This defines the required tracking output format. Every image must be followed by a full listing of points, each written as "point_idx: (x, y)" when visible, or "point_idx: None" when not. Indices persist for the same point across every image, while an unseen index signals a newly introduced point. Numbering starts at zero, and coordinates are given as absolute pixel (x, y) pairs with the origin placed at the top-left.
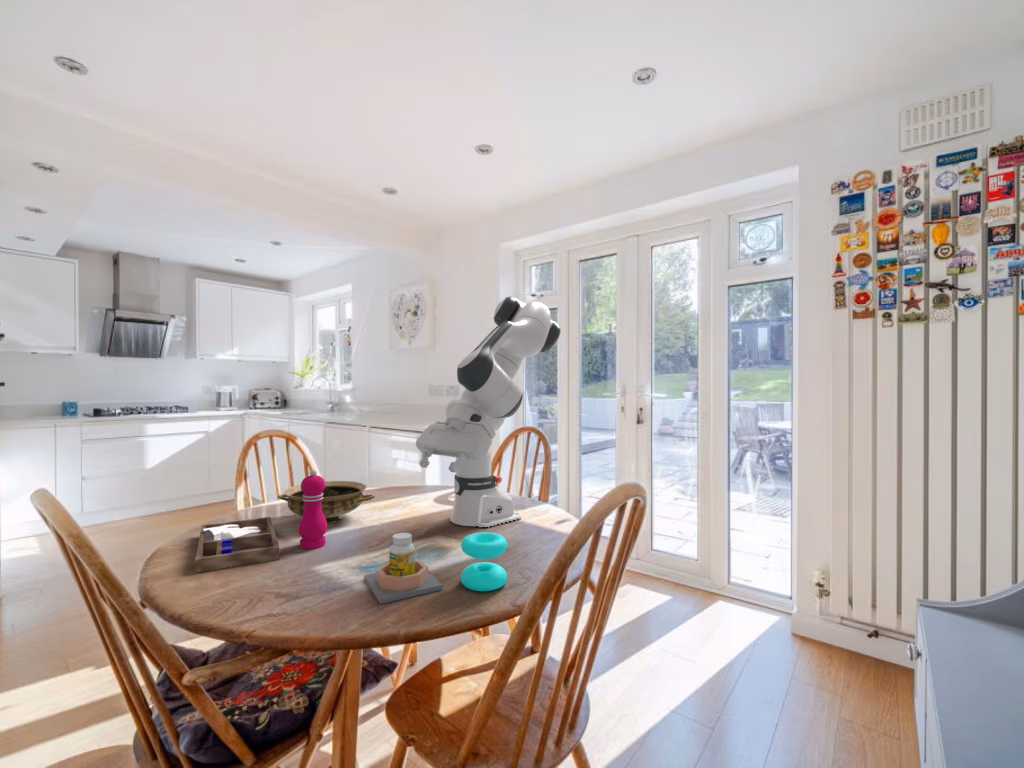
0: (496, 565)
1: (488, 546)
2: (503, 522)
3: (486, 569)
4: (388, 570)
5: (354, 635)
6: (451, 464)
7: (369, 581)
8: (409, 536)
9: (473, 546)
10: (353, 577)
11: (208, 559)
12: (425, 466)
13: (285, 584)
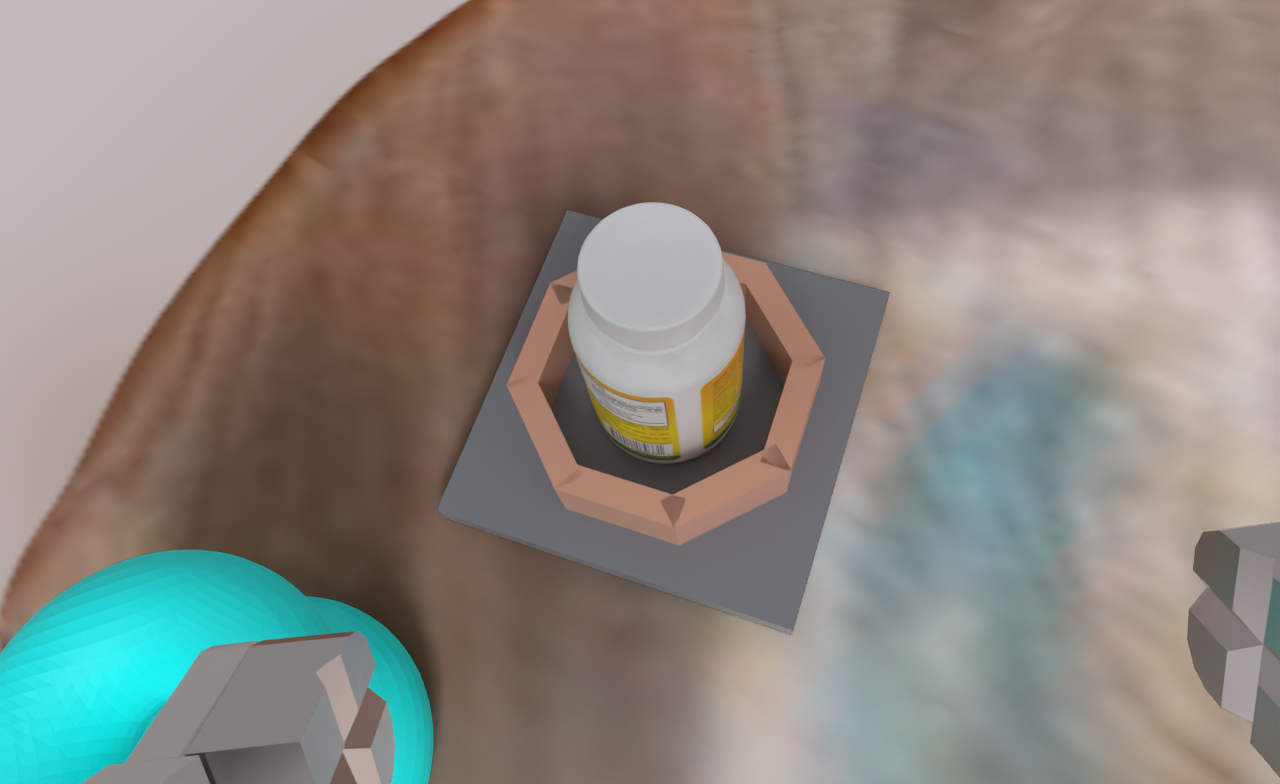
0: None
1: (15, 635)
2: None
3: None
4: (783, 366)
5: (439, 50)
6: (282, 693)
7: (788, 270)
8: (586, 285)
9: (126, 562)
10: (960, 283)
11: None
12: (1198, 620)
13: (1110, 35)
